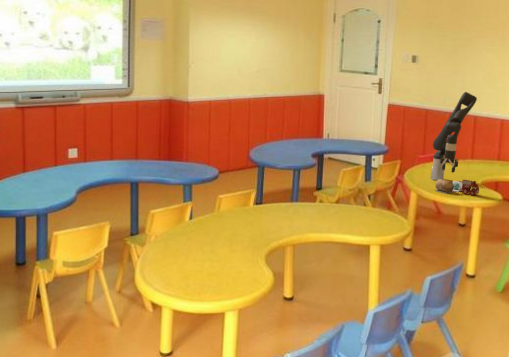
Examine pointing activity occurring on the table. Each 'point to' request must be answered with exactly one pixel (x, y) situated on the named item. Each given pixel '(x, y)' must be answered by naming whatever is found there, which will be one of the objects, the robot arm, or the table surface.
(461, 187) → the frame
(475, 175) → the table surface
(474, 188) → the toy fire truck
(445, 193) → the grey rectangular panel
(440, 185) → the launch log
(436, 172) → the robot arm
